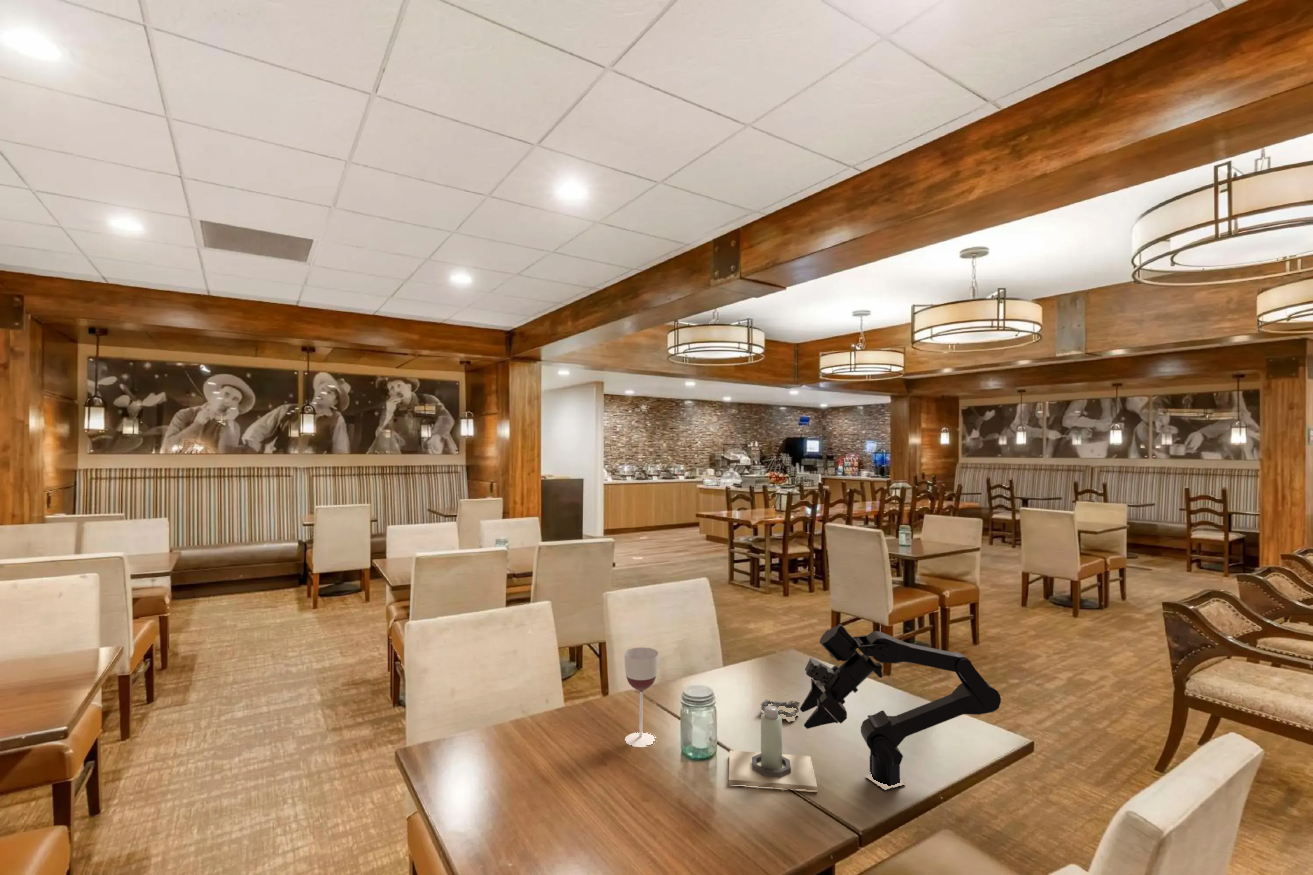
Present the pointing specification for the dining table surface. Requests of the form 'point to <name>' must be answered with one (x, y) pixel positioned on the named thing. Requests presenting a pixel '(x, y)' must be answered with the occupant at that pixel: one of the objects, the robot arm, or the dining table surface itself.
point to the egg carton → (786, 704)
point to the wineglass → (641, 686)
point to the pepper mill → (771, 739)
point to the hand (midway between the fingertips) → (803, 718)
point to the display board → (771, 771)
